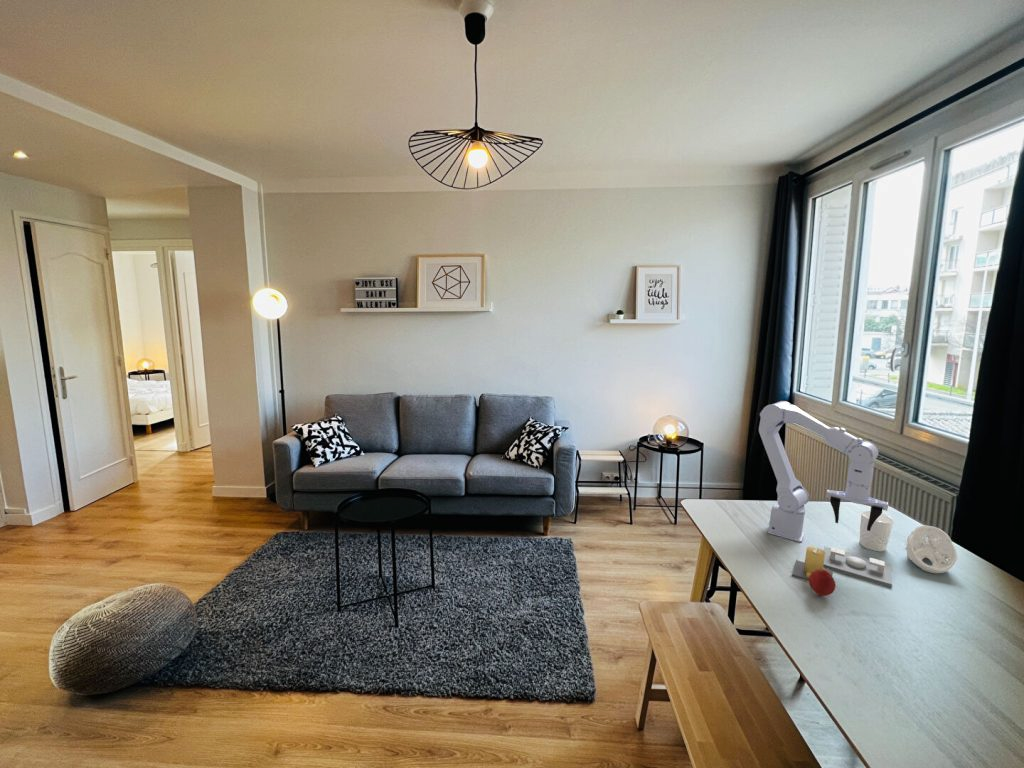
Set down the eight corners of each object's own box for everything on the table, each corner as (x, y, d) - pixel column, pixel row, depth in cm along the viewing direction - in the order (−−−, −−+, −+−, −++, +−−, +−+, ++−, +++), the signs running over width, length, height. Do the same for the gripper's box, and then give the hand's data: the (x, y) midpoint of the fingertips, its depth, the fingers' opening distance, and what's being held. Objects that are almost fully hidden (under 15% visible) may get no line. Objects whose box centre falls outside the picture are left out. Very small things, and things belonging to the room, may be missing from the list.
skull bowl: (941, 549, 141) (954, 527, 134) (947, 592, 132) (962, 571, 125) (897, 540, 146) (907, 518, 139) (900, 580, 138) (912, 559, 130)
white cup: (877, 540, 149) (882, 511, 147) (894, 553, 141) (900, 523, 139) (851, 538, 150) (855, 510, 148) (867, 552, 142) (872, 521, 140)
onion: (829, 591, 123) (833, 564, 121) (836, 604, 117) (841, 576, 116) (804, 586, 124) (808, 559, 123) (810, 599, 119) (814, 571, 118)
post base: (820, 566, 134) (822, 555, 133) (823, 549, 143) (825, 538, 143) (891, 587, 124) (893, 575, 124) (889, 567, 134) (891, 556, 133)
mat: (792, 576, 129) (792, 574, 129) (796, 561, 136) (796, 559, 136) (830, 588, 124) (830, 586, 124) (832, 572, 131) (833, 570, 131)
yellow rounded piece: (807, 563, 134) (810, 542, 133) (825, 569, 131) (828, 547, 130) (800, 574, 129) (803, 552, 128) (818, 581, 126) (822, 558, 125)
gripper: (828, 480, 137) (822, 523, 139) (891, 493, 128) (883, 538, 130) (829, 473, 142) (824, 514, 145) (890, 485, 134) (883, 529, 136)
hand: (852, 525), depth 138 cm, fingers open, 7 cm apart
